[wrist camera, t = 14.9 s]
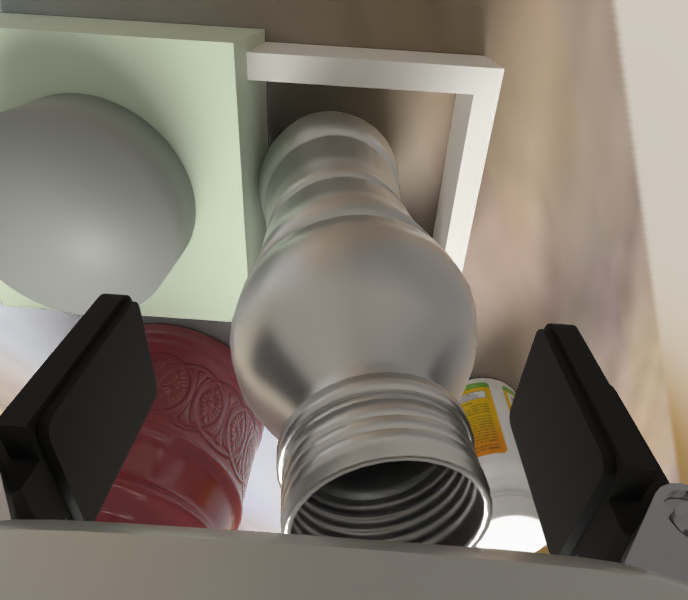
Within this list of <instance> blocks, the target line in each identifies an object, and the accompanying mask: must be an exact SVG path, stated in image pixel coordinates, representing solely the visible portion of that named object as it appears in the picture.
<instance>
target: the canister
mask: <svg viewBox="0 0 688 600" xmlns="http://www.w3.org/2000/svg"><path fill="white" fill-rule="evenodd" d="M143 325H144V329H145V334H146V338H147V343H148V347H149V352H150V357H151V361H152V366H153V370H154V375H155V379H156V384H157V393H156V398H155V400H154V403H153V405H152V407H151V409H150V411H149V413H148V415H147V417H146V419H145V421H144V423H143V425H142V427H141V429H140V431H139V433H138V435H137V437H136V439H135V441H134V443H133V445H132V447H131V449H130V451H129V453H128V455H127V457H126V459H125V461H124V463H123V465H122V467H121V469H120V471H119V473H118V475H117V477H116V479H115V481H114V483H113V485H112V487H111V489H110V491H109V493H108V495H107V497H106V499H105V501H104V503H103V505H102V507H101V509H100V511H99V513H98V515H97V517H96V519H95V521H94V522H114V523H133V524H148V525H164V526H179V527H194V528H209V529H225V530H238V528H239V525H240V522H241V519H242V509H243V506H242V503H243V499H244V495H245V491H246V487H247V483H248V479H249V475H250V471H251V467H252V463H253V459H254V455H255V452H256V451H257V449H258V447H259V444H260V442H261V438H262V433H263V429H264V425H263V424H262V422H261V421H260V420H259V419H258V418H257V417H256V416H255V415H254V413H253V412H252V410H251V409H250V407H249V406H248V404H247V403H246V402H245V400H244V397H243V395H242V392H241V389H240V387H239V384H238V381H237V378H236V374H235V370H234V367H233V363H232V358H231V350H230V348H229V347H227V346H226V345H224V344H223V343H221V342H219V341H218V340H216V339H214V338H212V337H210V336H207V335H205V334H203V333H200V332H198V331H195V330H191V329H188V328H184V327H180V326H174V325H167V324H143Z"/></svg>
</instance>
